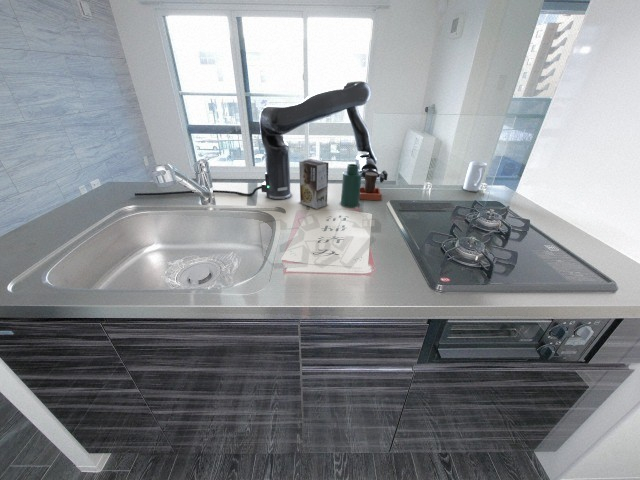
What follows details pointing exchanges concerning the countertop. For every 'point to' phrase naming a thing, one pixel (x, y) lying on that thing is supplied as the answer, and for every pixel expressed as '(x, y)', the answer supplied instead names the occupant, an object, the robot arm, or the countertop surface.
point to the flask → (351, 186)
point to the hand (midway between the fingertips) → (371, 179)
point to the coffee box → (313, 183)
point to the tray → (367, 196)
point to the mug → (474, 175)
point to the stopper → (370, 182)
